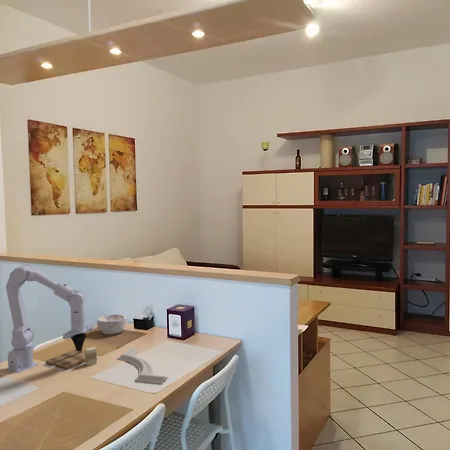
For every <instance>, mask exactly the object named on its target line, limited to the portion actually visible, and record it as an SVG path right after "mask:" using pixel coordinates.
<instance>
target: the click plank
mask: <svg viewBox="0 0 450 450" xmlns="http://www.w3.org/2000/svg"><path fill="white" fill-rule="evenodd" d="M96 355H97V356H98V353H96ZM84 362H86V355H85V351H83V352H82V353H80V354H77V355H75V356H72V357H70V358H67V359H65V360H62V361H60V362H57V363H55V367H58V368H62V369H66V370H68V369H70V368H72V367H75V366H77V365H79V364H82V363H84Z"/></svg>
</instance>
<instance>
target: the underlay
mask: <svg viewBox="0 0 450 450" xmlns="http://www.w3.org/2000/svg"><path fill="white" fill-rule="evenodd" d="M97 359H100V356H99V355H97ZM85 364H86V362H84V363H82V364H79V365H77V366H75V367H72V368H70V369H68V370H66V369H62V368H58V367H55V366H51V365H47V364H46V363H43V364H42V366H43V367H46V368H50V369H54V370H58V371H61V372H64V373H67V372H70V371H72V370H74V369H76V368H78V367H81V366H83V365H85Z"/></svg>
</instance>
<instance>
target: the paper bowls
mask: <svg viewBox="0 0 450 450" xmlns="http://www.w3.org/2000/svg"><path fill="white" fill-rule="evenodd" d="M96 319H97V321H96V323H97V324H96V325H97V329H98V330H100V331H101V332H102V334H105V335H116V334H119V333H122V331H123V329H124V328H126V327H127V316H126V315H125V314H106V315H103V316H100V317H98V318H96Z"/></svg>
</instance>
